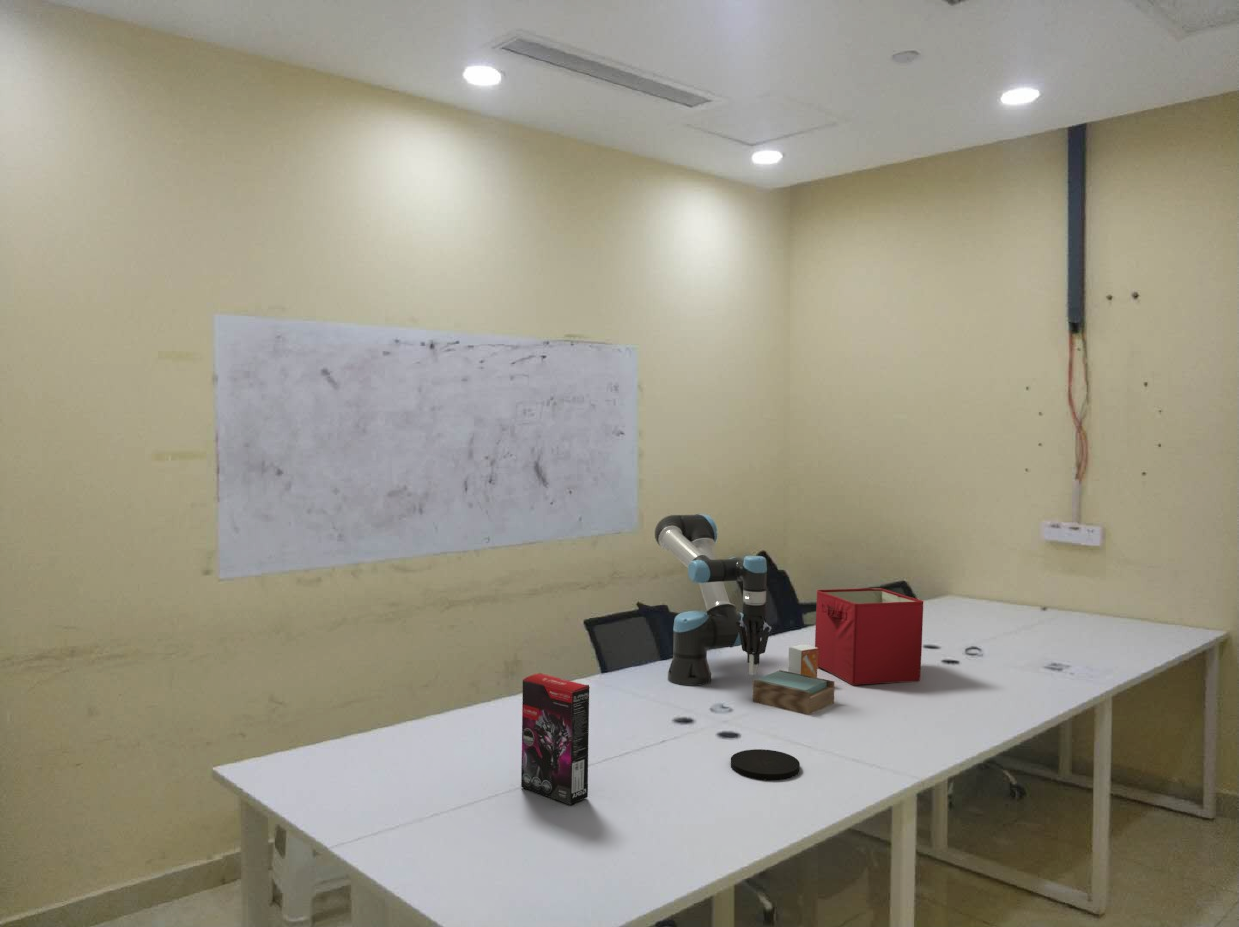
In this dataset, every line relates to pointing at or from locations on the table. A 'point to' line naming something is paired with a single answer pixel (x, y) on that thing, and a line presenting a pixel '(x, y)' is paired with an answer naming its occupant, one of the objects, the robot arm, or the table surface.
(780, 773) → the wireless charger
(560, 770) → the graphics card box
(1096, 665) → the table surface
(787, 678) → the cover plate
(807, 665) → the small box
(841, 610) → the storage cube
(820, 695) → the walnut case
